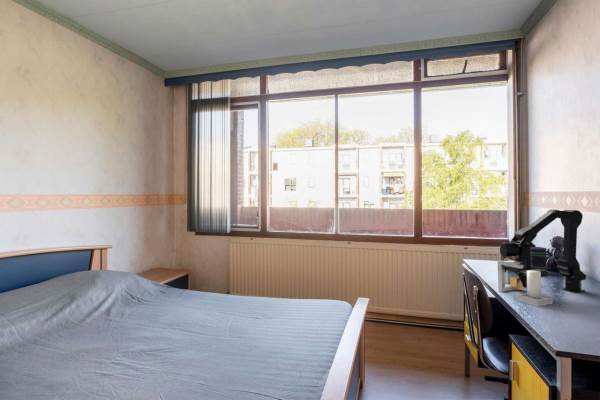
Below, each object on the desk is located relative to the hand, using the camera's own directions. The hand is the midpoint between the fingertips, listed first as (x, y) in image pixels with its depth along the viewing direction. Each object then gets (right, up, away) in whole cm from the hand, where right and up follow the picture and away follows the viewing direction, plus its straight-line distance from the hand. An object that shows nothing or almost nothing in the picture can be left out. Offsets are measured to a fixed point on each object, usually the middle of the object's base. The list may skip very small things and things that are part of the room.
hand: (525, 287), depth 158 cm
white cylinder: (-6, -2, -15) cm, 16 cm away
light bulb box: (+5, -2, +19) cm, 20 cm away
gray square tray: (-6, -2, -15) cm, 17 cm away
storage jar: (+33, -1, +37) cm, 50 cm away
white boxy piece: (-5, -2, -2) cm, 5 cm away
